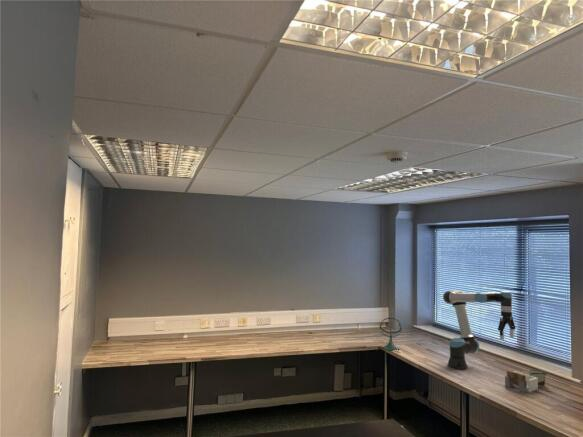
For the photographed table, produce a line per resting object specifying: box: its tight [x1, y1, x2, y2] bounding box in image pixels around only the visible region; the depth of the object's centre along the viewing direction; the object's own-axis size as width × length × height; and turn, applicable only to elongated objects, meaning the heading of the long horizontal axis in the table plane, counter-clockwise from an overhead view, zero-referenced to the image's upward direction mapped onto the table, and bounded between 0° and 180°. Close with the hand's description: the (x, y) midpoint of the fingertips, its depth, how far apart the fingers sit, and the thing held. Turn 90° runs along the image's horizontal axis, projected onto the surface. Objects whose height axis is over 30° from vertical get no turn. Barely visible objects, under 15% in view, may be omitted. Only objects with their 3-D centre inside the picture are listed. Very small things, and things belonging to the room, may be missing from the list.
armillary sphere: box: [379, 312, 403, 352], centre depth 367 cm, size 22×26×35 cm
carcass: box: [504, 370, 539, 393], centre depth 273 cm, size 16×17×8 cm
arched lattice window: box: [528, 369, 547, 387], centre depth 280 cm, size 12×6×10 cm, turn 92°
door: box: [506, 369, 526, 387], centre depth 270 cm, size 12×2×8 cm, turn 31°
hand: (506, 338), depth 289 cm, fingers open, 13 cm apart
